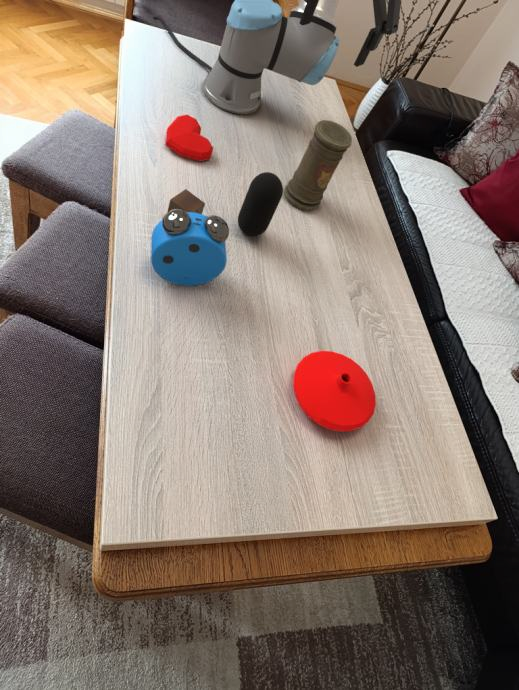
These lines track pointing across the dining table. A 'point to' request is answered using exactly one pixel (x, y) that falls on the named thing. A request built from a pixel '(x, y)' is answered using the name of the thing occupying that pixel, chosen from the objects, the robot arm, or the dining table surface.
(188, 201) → the walnut block
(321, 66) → the robot arm
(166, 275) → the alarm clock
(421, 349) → the dining table surface
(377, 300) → the dining table surface
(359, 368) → the flat cone with hole
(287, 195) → the container
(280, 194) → the decorative object
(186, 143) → the heart
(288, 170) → the dining table surface
